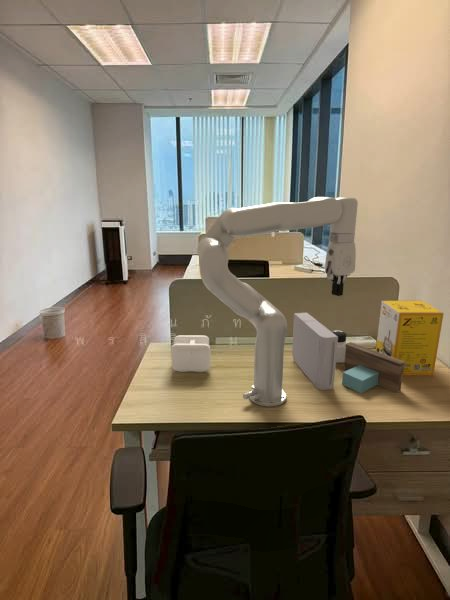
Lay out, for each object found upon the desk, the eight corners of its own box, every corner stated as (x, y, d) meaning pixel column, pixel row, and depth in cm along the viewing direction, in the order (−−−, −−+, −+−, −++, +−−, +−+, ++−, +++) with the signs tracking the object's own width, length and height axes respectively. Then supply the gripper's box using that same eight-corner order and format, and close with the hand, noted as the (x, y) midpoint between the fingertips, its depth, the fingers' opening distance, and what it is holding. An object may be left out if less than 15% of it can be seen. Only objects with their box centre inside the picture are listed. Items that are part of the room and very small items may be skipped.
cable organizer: (211, 361, 159) (211, 335, 156) (210, 373, 149) (210, 345, 146) (175, 361, 159) (174, 335, 156) (171, 373, 149) (170, 345, 146)
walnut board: (396, 393, 135) (400, 364, 132) (343, 370, 151) (345, 344, 148) (401, 390, 137) (405, 361, 133) (348, 368, 153) (350, 342, 150)
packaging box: (374, 357, 163) (381, 300, 156) (413, 357, 163) (422, 300, 156) (390, 375, 148) (398, 312, 141) (433, 375, 148) (443, 313, 141)
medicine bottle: (347, 362, 158) (350, 335, 154) (329, 362, 158) (332, 335, 155) (342, 355, 165) (345, 329, 161) (325, 355, 165) (328, 329, 161)
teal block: (360, 393, 135) (362, 380, 133) (341, 384, 141) (343, 372, 140) (377, 385, 141) (378, 372, 139) (358, 376, 147) (359, 364, 145)
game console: (318, 390, 136) (322, 338, 131) (291, 358, 162) (293, 313, 156) (333, 389, 137) (338, 336, 132) (304, 357, 163) (307, 312, 157)
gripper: (336, 241, 114) (331, 301, 119) (366, 237, 122) (360, 293, 128) (316, 238, 120) (312, 296, 125) (346, 235, 128) (341, 289, 133)
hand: (337, 294), depth 126 cm, fingers closed
